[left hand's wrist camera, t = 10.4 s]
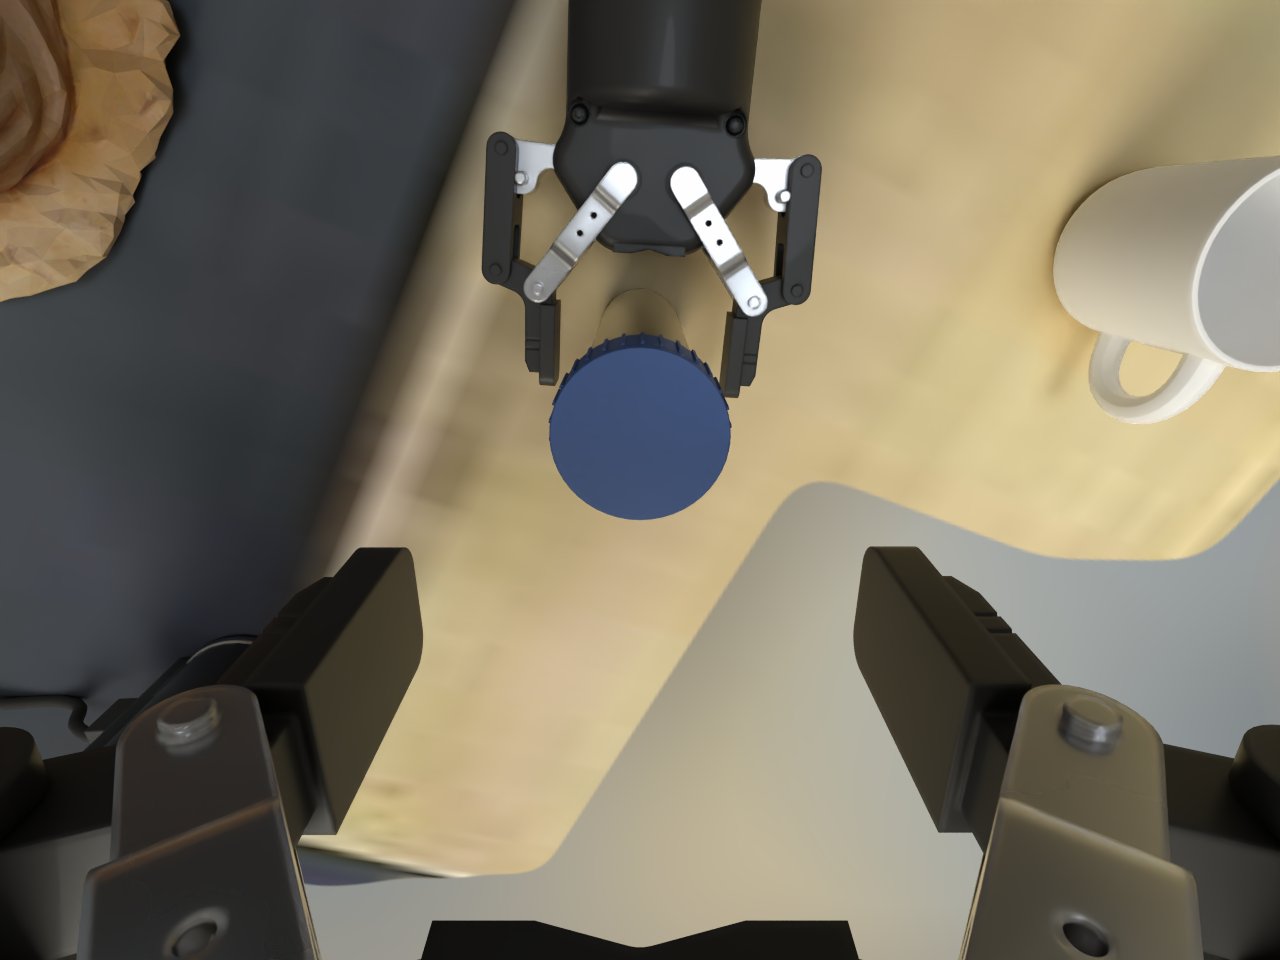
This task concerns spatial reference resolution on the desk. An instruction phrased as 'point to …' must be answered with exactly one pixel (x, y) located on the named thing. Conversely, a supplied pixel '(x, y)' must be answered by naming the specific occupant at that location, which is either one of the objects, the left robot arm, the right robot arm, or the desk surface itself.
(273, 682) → the left robot arm
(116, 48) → the sculpture
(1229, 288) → the mug
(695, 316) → the desk surface
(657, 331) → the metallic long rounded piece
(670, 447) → the lid
